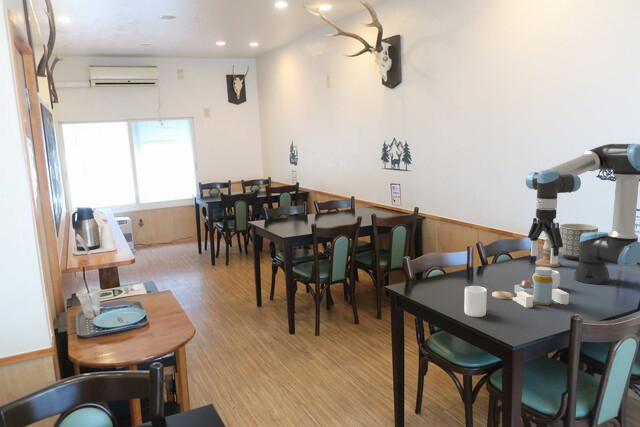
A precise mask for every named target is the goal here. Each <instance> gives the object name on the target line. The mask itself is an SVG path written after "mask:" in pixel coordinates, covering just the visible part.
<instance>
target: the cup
mask: <svg viewBox="0 0 640 427" xmlns="http://www.w3.org/2000/svg"><path fill="white" fill-rule="evenodd" d="M487 290H488V289H487V288H486V287H483V286H479V285H469V286H465V287H464V301H463V302H464V303H463V304H464V306H463V307H464V308H463V309H464V310H463V311H464V314H465V315H467V316H469V317H473V318H483V317H484V316H486V313H487V294H488V292H487Z"/></svg>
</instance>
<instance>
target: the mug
mask: <svg viewBox="0 0 640 427" xmlns="http://www.w3.org/2000/svg"><path fill="white" fill-rule="evenodd" d="M551 277H552V280H553V283H552V289H559V288H558V287H559V286H560V283H561V274H560V272H559V271H557V270H555V269H554V270H553V269H552V276H551ZM534 278H535V273H533V275H532V282H533V283H534Z"/></svg>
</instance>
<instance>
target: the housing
mask: <svg viewBox="0 0 640 427" xmlns="http://www.w3.org/2000/svg"><path fill="white" fill-rule="evenodd" d="M533 291H534V285H533V284H531V288H528V289H524V288H522V287H521V284H514V292H513V294H516V296H514V297H513V298H512V301H514V302H516V303H517V304H519V305H521V306H522V307H524V308H528V309H529V308H534V301H533ZM569 298H570V293H568V292H567V291H564V290H562V289H560V288H557V289H552V301H554V302H556V303H558V304H559V303H560V305H561V304H564V305H569Z"/></svg>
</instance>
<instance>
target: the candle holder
mask: <svg viewBox="0 0 640 427" xmlns="http://www.w3.org/2000/svg"><path fill="white" fill-rule="evenodd" d="M559 230H560V227H559ZM543 233H544V234H545V236H544V237H543V240H544V243H543V247H542V248H543V250H542V252H541V254H543V258H539V259H538V260H536V261H535V263H534V264H535V265H536V266H537V267H540V266H542V267H549V268H559V267H561V262H560V261H558V264H550V260H551V247H552V244H551V241H550V239H549V236H548V234H547V233H546V232H544V231H543Z"/></svg>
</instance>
